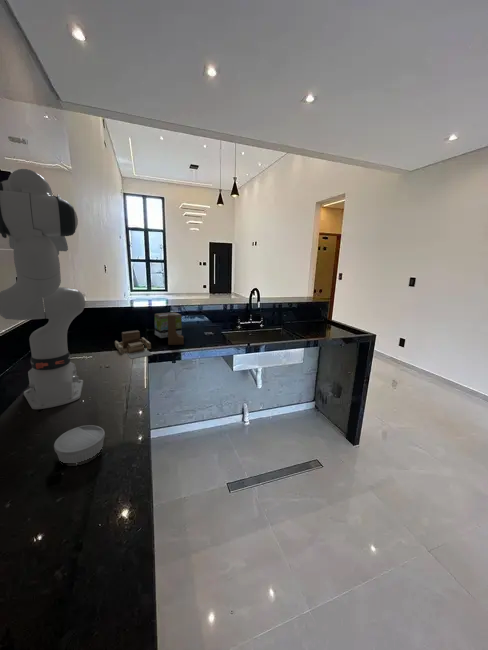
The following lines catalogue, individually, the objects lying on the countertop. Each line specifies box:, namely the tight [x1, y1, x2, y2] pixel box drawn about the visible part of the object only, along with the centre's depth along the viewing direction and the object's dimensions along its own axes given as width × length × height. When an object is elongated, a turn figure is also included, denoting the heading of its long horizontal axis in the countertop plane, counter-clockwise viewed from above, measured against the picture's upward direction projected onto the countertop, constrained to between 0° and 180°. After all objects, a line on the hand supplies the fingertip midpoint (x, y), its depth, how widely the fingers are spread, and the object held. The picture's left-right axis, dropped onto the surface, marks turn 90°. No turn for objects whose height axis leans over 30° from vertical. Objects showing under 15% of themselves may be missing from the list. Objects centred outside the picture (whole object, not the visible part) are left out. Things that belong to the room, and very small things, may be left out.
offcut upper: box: [128, 342, 143, 348], centre depth 148 cm, size 4×7×2 cm, turn 133°
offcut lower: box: [127, 345, 146, 354], centre depth 148 cm, size 4×8×2 cm, turn 127°
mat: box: [126, 349, 153, 360], centre depth 143 cm, size 8×11×1 cm
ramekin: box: [53, 424, 106, 463], centre depth 70 cm, size 11×11×5 cm
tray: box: [114, 336, 152, 354], centre depth 153 cm, size 15×16×4 cm
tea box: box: [154, 311, 183, 339], centre depth 179 cm, size 15×10×15 cm
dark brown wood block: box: [121, 329, 141, 348], centre depth 154 cm, size 4×9×8 cm, turn 127°
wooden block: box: [167, 314, 185, 346], centre depth 161 cm, size 9×4×18 cm, turn 104°
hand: (42, 261), depth 117 cm, fingers open, 8 cm apart
